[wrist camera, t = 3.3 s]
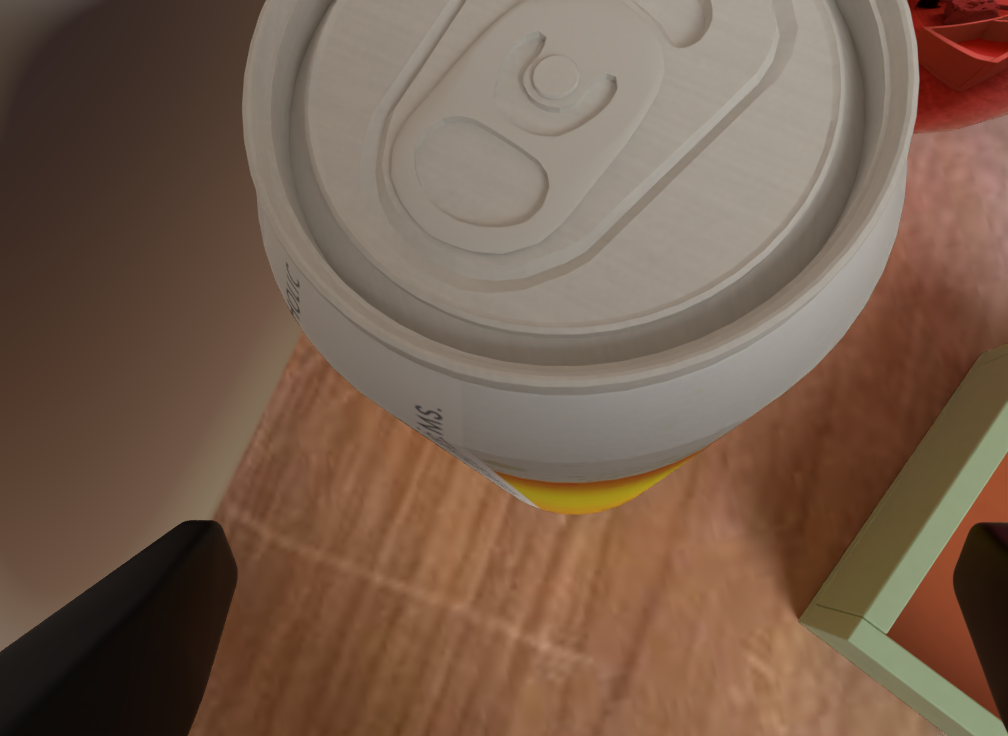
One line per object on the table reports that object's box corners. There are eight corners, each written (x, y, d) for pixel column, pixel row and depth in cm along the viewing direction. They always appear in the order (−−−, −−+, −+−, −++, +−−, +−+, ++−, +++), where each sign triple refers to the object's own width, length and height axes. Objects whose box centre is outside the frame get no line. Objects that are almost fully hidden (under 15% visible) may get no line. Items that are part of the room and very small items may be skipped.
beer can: (724, 387, 20) (1138, -42, 5) (596, 561, 19) (659, 639, 4) (553, 269, 21) (499, -329, 6) (427, 427, 20) (47, 148, 6)
